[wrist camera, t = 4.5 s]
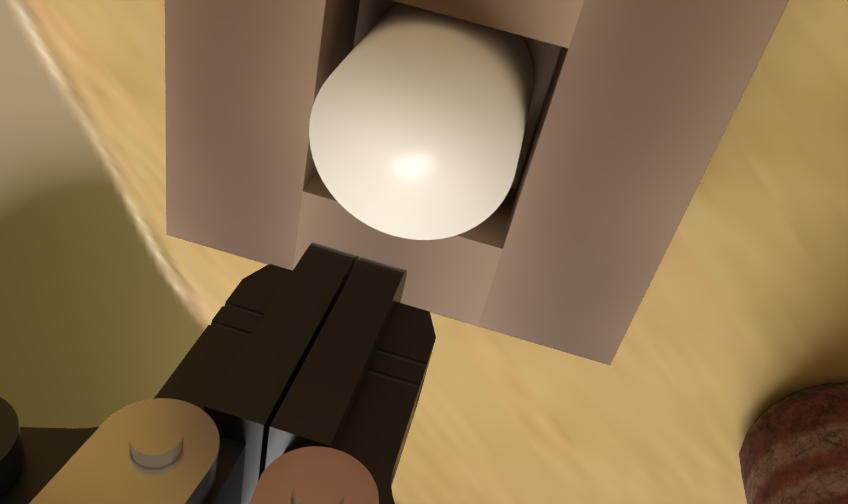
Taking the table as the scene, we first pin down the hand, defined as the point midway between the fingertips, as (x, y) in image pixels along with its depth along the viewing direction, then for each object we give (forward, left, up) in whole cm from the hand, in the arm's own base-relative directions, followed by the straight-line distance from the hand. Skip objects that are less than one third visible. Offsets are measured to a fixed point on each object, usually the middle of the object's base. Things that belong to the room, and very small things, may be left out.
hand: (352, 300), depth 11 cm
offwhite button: (0, 0, -9) cm, 9 cm away
